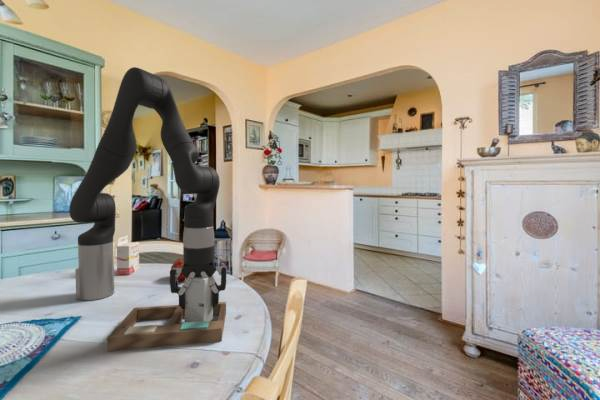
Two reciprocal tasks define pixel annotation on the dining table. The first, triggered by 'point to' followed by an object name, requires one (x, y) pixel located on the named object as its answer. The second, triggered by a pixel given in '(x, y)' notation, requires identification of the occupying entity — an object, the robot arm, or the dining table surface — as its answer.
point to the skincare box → (199, 300)
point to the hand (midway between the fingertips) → (199, 306)
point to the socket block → (165, 328)
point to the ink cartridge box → (127, 256)
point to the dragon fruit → (179, 264)
